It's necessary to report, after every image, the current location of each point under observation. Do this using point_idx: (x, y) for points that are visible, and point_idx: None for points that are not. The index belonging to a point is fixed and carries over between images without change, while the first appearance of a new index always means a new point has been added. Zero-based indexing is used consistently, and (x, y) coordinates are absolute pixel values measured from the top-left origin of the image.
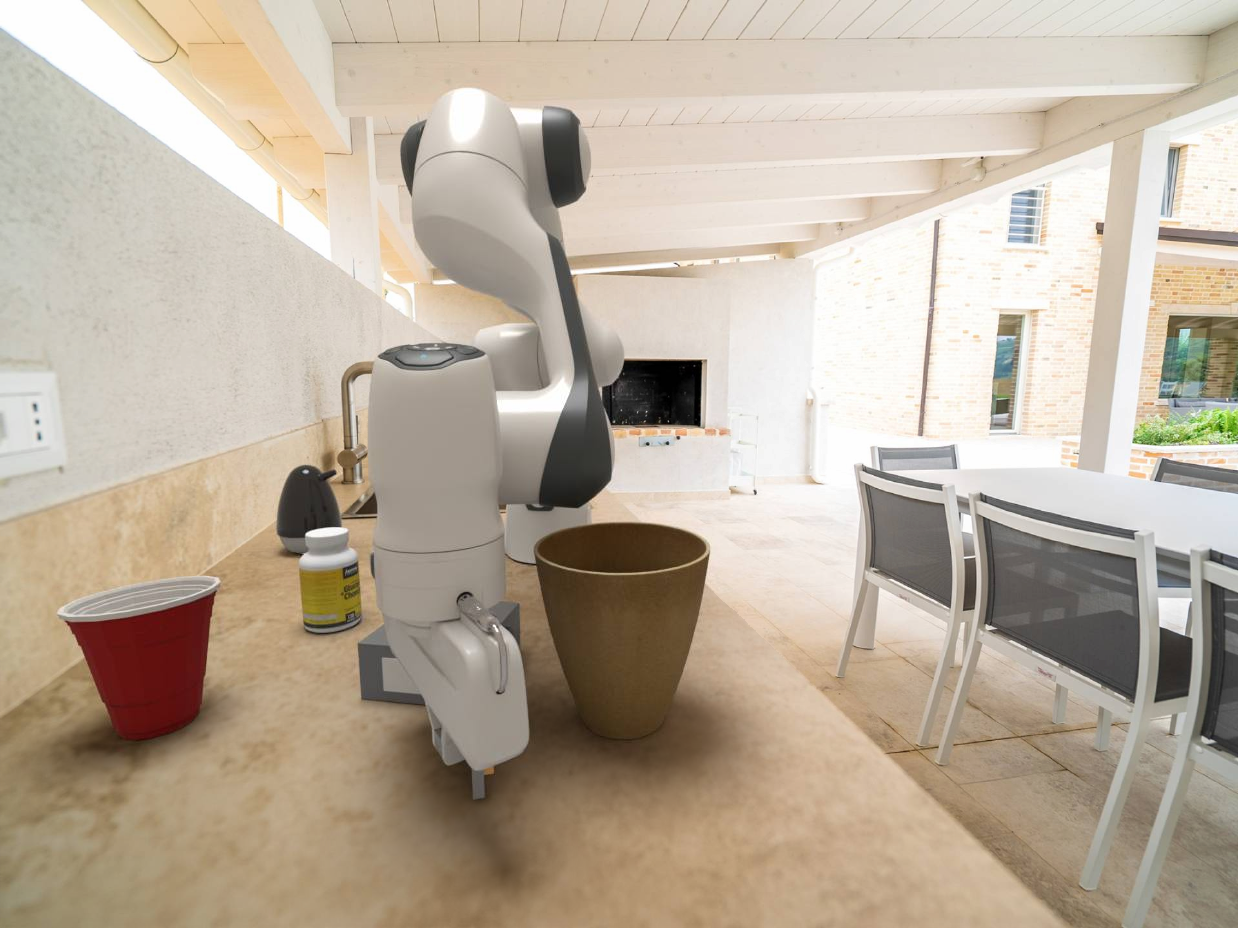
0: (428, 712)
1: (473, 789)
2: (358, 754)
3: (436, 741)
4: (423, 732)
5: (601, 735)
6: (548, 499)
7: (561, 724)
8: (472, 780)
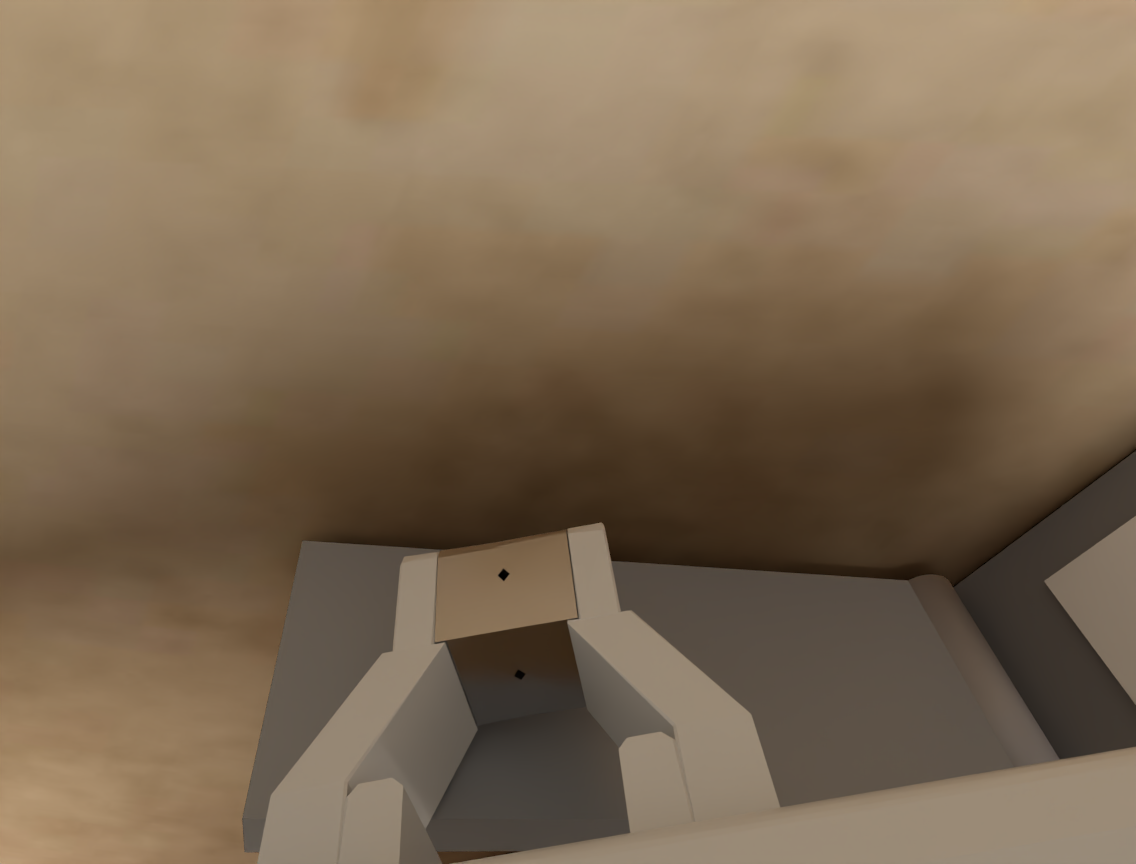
0: (663, 669)
1: (296, 577)
2: (999, 61)
3: (531, 580)
4: (941, 397)
5: None
6: None
7: None
8: (289, 610)
